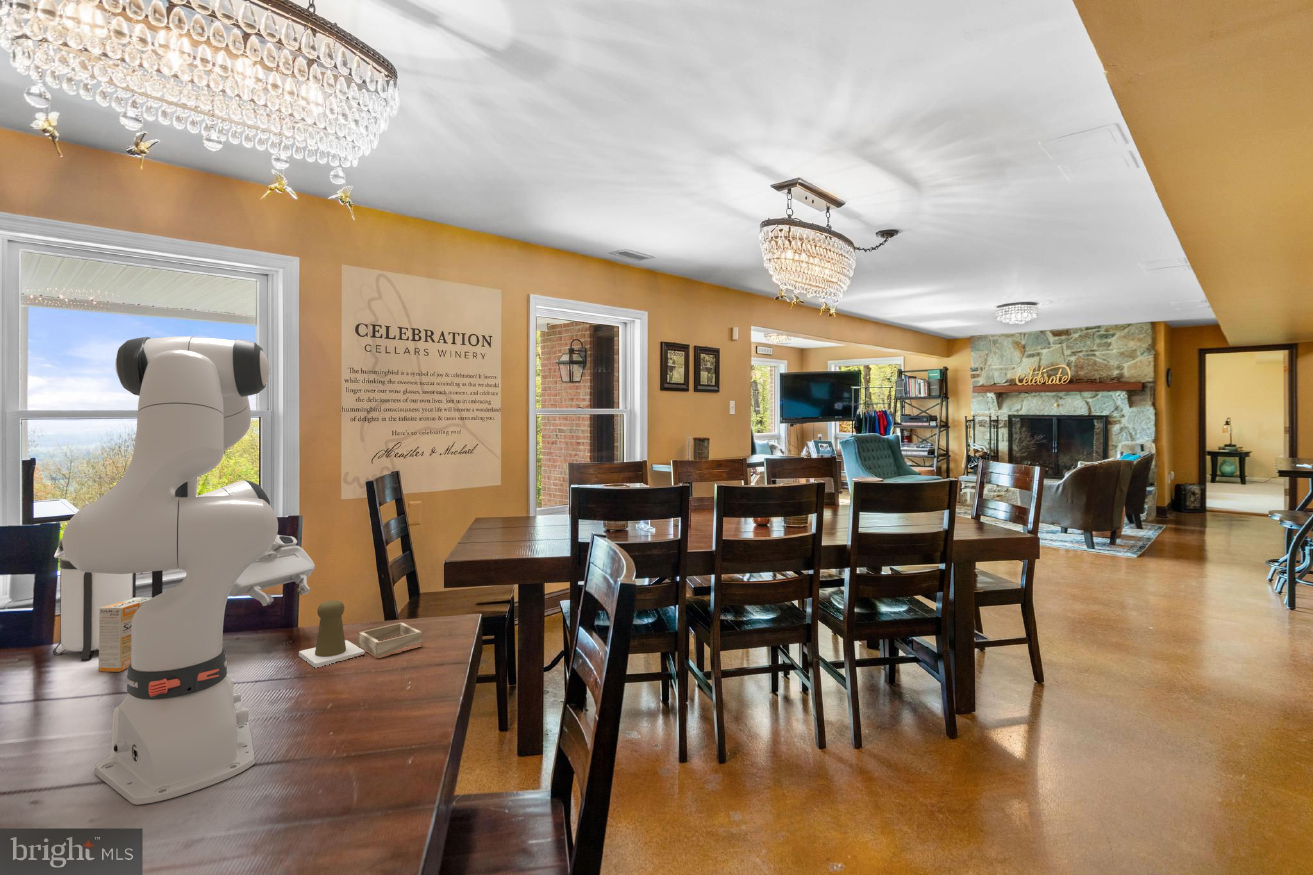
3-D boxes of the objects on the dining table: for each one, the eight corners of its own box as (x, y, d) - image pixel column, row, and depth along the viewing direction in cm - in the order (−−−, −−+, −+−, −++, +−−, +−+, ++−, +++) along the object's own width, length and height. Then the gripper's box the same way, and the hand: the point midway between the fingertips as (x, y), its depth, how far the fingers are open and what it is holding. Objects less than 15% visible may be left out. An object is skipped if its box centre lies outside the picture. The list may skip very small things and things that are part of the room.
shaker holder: (421, 647, 138) (422, 631, 138) (377, 659, 131) (377, 643, 131) (401, 636, 145) (401, 622, 145) (358, 647, 138) (358, 632, 138)
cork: (352, 647, 135) (352, 598, 135) (334, 657, 129) (335, 606, 129) (326, 646, 135) (327, 597, 135) (308, 655, 129) (308, 604, 129)
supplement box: (120, 672, 122) (121, 607, 122) (97, 671, 122) (97, 607, 122) (155, 657, 130) (156, 596, 130) (133, 656, 130) (134, 596, 130)
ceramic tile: (364, 655, 133) (364, 650, 133) (315, 668, 125) (315, 663, 125) (346, 644, 140) (346, 639, 140) (298, 655, 132) (298, 651, 132)
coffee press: (131, 656, 130) (132, 518, 130) (34, 666, 124) (35, 521, 124) (163, 631, 146) (164, 508, 146) (78, 639, 140) (79, 510, 140)
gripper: (217, 550, 128) (252, 600, 125) (300, 535, 147) (332, 578, 145) (202, 570, 129) (236, 620, 126) (286, 553, 149) (317, 595, 146)
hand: (288, 597), depth 136 cm, fingers open, 8 cm apart
